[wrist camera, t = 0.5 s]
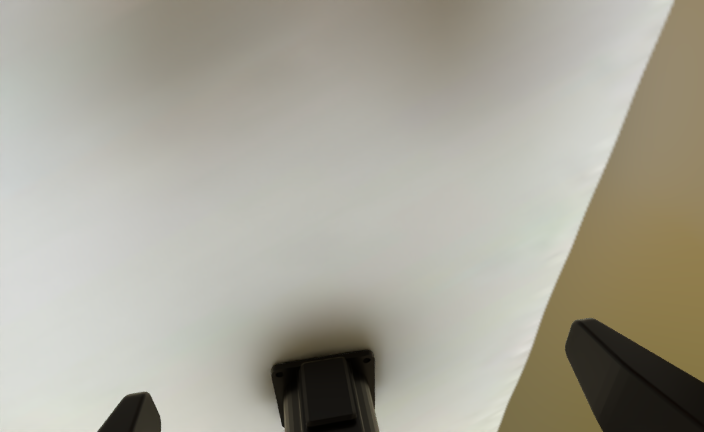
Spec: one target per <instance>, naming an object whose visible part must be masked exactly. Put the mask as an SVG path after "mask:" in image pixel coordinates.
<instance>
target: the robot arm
mask: <svg viewBox="0 0 704 432" xmlns="http://www.w3.org/2000/svg"><path fill="white" fill-rule="evenodd" d="M565 351H566V355H567V358H568V360H569V362H570V364H571V366H572V368H573V371H574V373H575V375H576V377H577V379H578V381H579V383H580V386H581V387H582V390H583V392H584V394H585V396H586V399H587V401H588V403H589V405H590V407H591V409H592V411H593V413H594V415H595V417H596V420H597V421H598V423H599V425H600V427H601V429H602V430H603V432H704V383H703V382H701V381H700V380H698V379H696V378H695V377H693V376H691V375H690V374H688V373H686V372H684V371H683V370H681V369H679V368H677V367H676V366H674V365H673V364H671V363H669V362H667V361H666V360H664V359H662V358H661V357H659V356H657V355H655V354H654V353H652V352H650V351H649V350H647V349H645V348H643V347H642V346H640V345H638V344H637V343H635V342H633V341H632V340H630V339H628V338H627V337H625V336H623V335H622V334H620V333H618V332H616V331H615V330H613V329H611V328H610V327H608V326H606V325H604V324H603V323H601V322H599V321H598V320H596V319H593V318H586V319H580V320H575V321H574V322H573V323H572V325H571V328H570V332H569V335H568V338H567V341H566V345H565ZM271 376H272V381H273V385H274V390H275V395H276V399H277V404H278V409H279V413H280V418H281V423H282V426H283V427H284V428H285V432H379V427H378V423H377V419H376V414H375V363H374V355H373V352H372V351H370V350H364V351H358V352H351V353H345V354H339V355H333V356H327V357H320V358H314V359H308V360H302V361H296V362H289V363H283V364H278V365H275V366H273V367H272V369H271ZM98 432H161V419H160V415H159V413H158V411H157V408H156V406H155V404H154V402H153V400H152V397H151V395H150V394H149V393H148V392H139V393H133V394H129V395H127V396H125V397H124V398H123V399H122V400H121V402H120V403H119V404H118V405H117V407H116V408H115V409H114V411H113V412H112V413H111V415H110V416H109V417H108V419H107V420H106V421H105V423H104V424H103V425H102V426H101V428H100V429H99V430H98Z"/></svg>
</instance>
